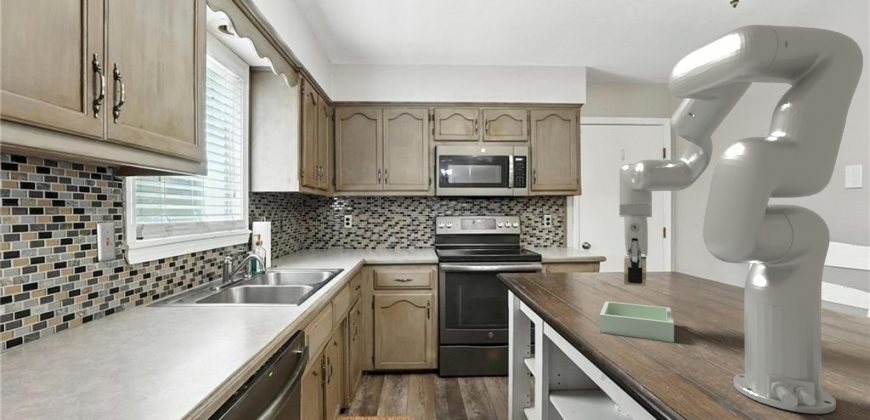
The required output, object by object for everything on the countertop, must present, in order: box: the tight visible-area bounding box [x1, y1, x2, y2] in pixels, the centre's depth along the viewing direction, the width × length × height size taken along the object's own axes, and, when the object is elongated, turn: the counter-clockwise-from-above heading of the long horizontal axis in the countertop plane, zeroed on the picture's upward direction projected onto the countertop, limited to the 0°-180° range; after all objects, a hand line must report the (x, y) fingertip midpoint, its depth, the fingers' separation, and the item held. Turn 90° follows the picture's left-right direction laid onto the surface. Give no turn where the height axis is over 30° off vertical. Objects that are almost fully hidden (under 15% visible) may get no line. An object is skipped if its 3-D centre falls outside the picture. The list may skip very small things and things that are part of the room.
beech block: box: [623, 255, 647, 288], centre depth 102 cm, size 5×5×7 cm
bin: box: [599, 301, 675, 343], centre depth 101 cm, size 16×16×4 cm
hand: (635, 280), depth 102 cm, fingers closed on beech block, 5 cm apart
